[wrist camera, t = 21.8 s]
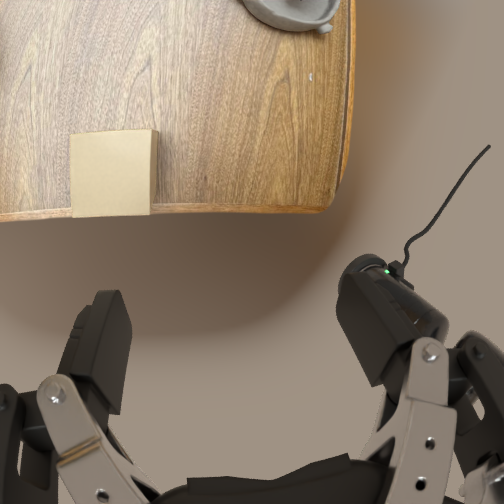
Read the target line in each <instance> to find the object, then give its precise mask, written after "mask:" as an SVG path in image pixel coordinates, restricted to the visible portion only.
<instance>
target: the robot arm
mask: <svg viewBox="0 0 504 504" xmlns="http://www.w3.org/2000/svg"><path fill="white" fill-rule="evenodd" d="M490 147H491V146H490V145H488V146H487V147H486V148H485V149H484V150H483V151H482V152H481V153H480V154H479V155H478V156H477V157H476V158H475V159H474V161H473V162H472V163H471V164H470V165H469V167H468V168H467V169H466V171H465V172H464V174H463V175H462V176H461V178H460V179H459V181H458V182H457V184H456V185H455V186H454V188H453V189H452V191H451V192H450V194H449V195H448V197H447V199H446V200H445V202H444V203H443V204H442V206H441V207H440V209H439V211H438V212H437V213H436V215H435V216H434V218H433V219H432V221H431V222H430V223H429V224H428V226H427V227H426V228H425V229H424V230H423V231H421V232H420V233H418V234H416V235H415V236H413V237H412V238H410V239H409V240H408V241H407V243H406V245H405V247H404V252H405V260H404V262H403V263H402V264H401V263H400V262H398V261H396V260H395V261H393V262H391V263H389V264H388V267H387V266H385V265H384V264H383V265H379V264H369V265H366V266H364V267H363V268H361V269H360V270H359V271H358V272H354V273H346V274H345V275H344V277H343V280H342V284H341V288H340V292H339V297H338V300H337V304H336V315H337V319H338V321H339V323H340V325H341V327H342V329H343V331H344V333H345V335H346V337H347V338H348V341H349V343H350V344H351V346H352V348H353V350H354V352H355V354H356V356H357V358H358V360H359V362H360V364H361V366H362V368H363V370H364V372H365V374H366V376H367V378H368V380H369V382H370V384H371V387H375V386H378V385H381V384H383V385H384V386H385V390H384V392H383V394H382V398H381V402H380V406H379V410H378V413H377V417H376V420H375V424H374V427H373V430H372V433H371V436H370V438H369V440H368V442H367V443H366V445H365V447H364V449H363V450H362V452H361V455H360V457H359V460H354V459H350V458H349V456H348V453H345V454H342V455H339V456H335V457H332V458H328V459H325V460H321V461H317V462H313V463H310V464H308V465H306V466H304V467H302V468H300V469H298V470H296V471H293V472H291V473H289V474H286V475H284V476H282V477H280V478H277V479H274V480H258V479H247V478H237V477H230V476H223V477H205V478H204V477H203V478H187V484H186V485H182V486H179V487H176V488H174V489H171V490H169V491H167V492H165V493H162V492H161V491H160V490H159V488H158V487H157V486H156V485H155V484H154V483H153V482H152V481H151V479H150V478H149V477H148V476H147V475H146V474H145V473H144V472H143V471H142V470H141V469H140V468H139V467H138V466H137V464H136V463H135V462H134V460H133V459H132V458H131V456H130V455H129V454H128V452H127V451H126V449H125V448H124V447H123V445H122V444H121V442H120V441H119V440H118V438H117V436H116V435H115V434H114V432H113V430H112V429H111V427H110V426H109V424H108V418H109V414H114V415H120V410H121V401H122V394H123V387H124V380H125V374H126V367H127V362H128V356H129V351H130V345H131V339H132V325H131V321H130V318H129V315H128V313H127V310H126V307H125V304H124V301H123V298H122V295H121V293H120V291H119V290H101V291H98V292H97V294H96V296H95V299H94V301H93V304H92V305H87V306H86V307H85V308H84V309H83V310H82V311H81V312H80V313H79V314H78V316H77V318H76V321H75V323H74V326H73V329H72V331H71V333H70V338H69V339H68V342H67V344H66V347H65V350H64V352H63V356H62V358H61V361H60V364H59V367H58V370H57V373H56V374H55V375H51V376H49V377H47V378H46V379H45V380H44V381H43V382H42V383H41V384H40V386H39V388H38V390H36V391H31V392H25V393H19V394H18V392H17V391H16V390H15V389H14V388H13V387H12V386H11V385H9V384H0V504H58V474H59V475H60V477H61V479H62V481H63V483H64V484H65V486H66V488H67V490H68V492H69V493H70V495H71V497H72V499H73V500H74V502H75V504H504V352H503V351H502V350H500V348H498V346H496V345H495V344H494V343H493V342H492V341H491V340H490V339H488V338H487V337H486V336H484V335H483V334H481V333H479V332H477V331H474V330H470V331H467V332H466V333H465V334H464V335H463V336H462V337H461V338H460V340H459V341H458V342H457V344H456V346H454V348H452V349H446V348H445V347H444V342H445V340H446V337H447V334H448V330H449V320H448V318H447V317H446V316H445V315H444V314H443V313H442V312H440V311H439V310H438V309H436V308H435V307H434V306H433V305H431V304H430V303H429V302H427V301H426V300H425V299H424V298H422V297H421V296H420V295H418V294H417V293H416V292H414V286H413V285H412V284H411V283H409V282H408V281H406V280H405V279H404V268H405V266H406V265H407V263H408V260H409V251H408V248H409V246H410V244H411V243H412V242H413V241H414V240H416V239H418V238H419V237H421V236H423V235H424V234H425V233H427V232H428V231H429V229H430V228H431V227H432V226H433V225H434V223H435V221H436V220H437V219H438V217H439V216H440V214H441V213H442V211H443V210H444V208H445V207H446V205H447V204H448V202H449V201H450V199H451V198H452V196H453V195H454V193H455V191H456V190H457V188H458V187H459V185H460V184H461V182H462V181H463V180H464V178H465V177H466V175H467V174H468V172H469V171H470V170H471V169H472V167H473V166H474V165H475V163H476V162H477V161H478V160H479V159H480V158H481V157H482V156H483V154H484V153H485V152H486V151H487V150H488V149H489V148H490ZM478 399H480V401H481V403H482V405H483V407H484V410H485V414H484V418H483V419H482V420H480V419H479V418H478V416H477V413H476V411H475V410H474V408H473V405H474V403H475V402H476V401H477V400H478ZM20 440H21V441H22V442H23V450H22V458H21V468H20V476H19V474H18V470H17V463H18V453H19V447H20ZM453 449H454V452H455V454H456V457H457V459H458V462H459V464H460V467H461V470H462V472H463V475H464V478H465V482H464V484H462V485H461V486H460V488H459V495H460V496H462V497H465V500H464V503H462V502H459V501H457V500H454V499H452V498H450V497H447V496H445V491H446V487H447V482H448V477H449V473H450V467H451V461H452V455H453Z"/></svg>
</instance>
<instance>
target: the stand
mask: <svg viewBox="0 0 504 504" xmlns="http://www.w3.org/2000/svg"><path fill="white" fill-rule="evenodd" d="M157 148H158V131H155V130H153V129H127V130H110V131H97V132H86V133H77V134H70V193H71V208H72V218H79V217H80V218H81V217H102V216H130V215H150V213H151V209H152V205H153V202H154V198H155V194H156V173H157Z"/></svg>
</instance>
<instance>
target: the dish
mask: <svg viewBox="0 0 504 504" xmlns="http://www.w3.org/2000/svg"><path fill="white" fill-rule="evenodd" d="M243 2H244V4H245V6H246V7H247V9H248V10H249V11H250V12H251V13H252V14H253V15H254V16H255V17H256V18H258V19H259V20H261V21H262V22H264V23H266V24H268V25H270V26H272V27H275V28H278V29H282V30H287V31H309V30H312V29H316V30H317V32H318V33H319V34H325V33H329V32H330V31H331V30H332V29H333V27H332V26H331V25H330V24H329V21H330V20H331V19H332V17H333V16H334V14H335V13H336V11H337V9H338V8H339V4H340V0H302V1H300V0H243Z"/></svg>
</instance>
